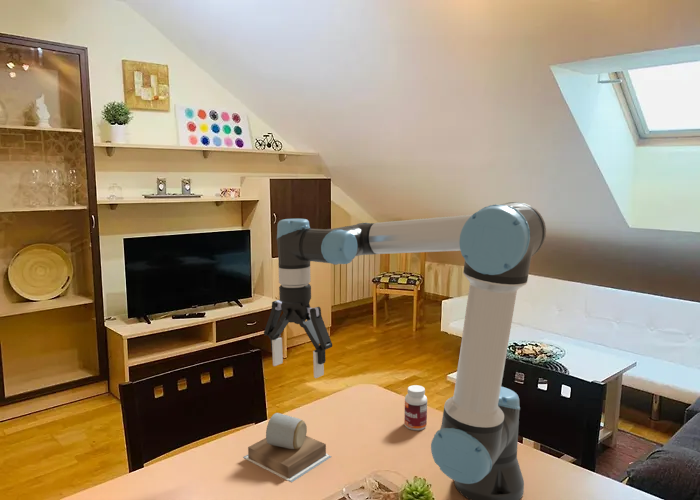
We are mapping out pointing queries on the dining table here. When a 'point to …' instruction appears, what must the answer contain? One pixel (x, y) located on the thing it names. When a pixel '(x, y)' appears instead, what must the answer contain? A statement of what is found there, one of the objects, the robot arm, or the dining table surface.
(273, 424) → the ceramic mug
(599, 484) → the dining table surface
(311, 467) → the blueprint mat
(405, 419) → the pill bottle
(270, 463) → the walnut slab
